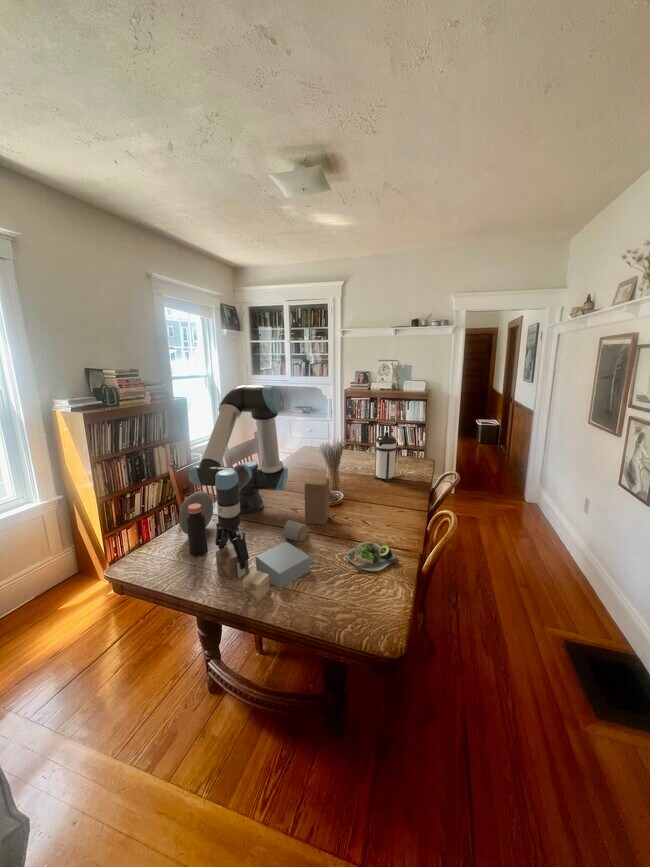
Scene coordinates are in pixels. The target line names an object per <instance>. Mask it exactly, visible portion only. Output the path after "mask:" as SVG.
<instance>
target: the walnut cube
mask: <svg viewBox="0 0 650 867" xmlns="http://www.w3.org/2000/svg"><path fill="white" fill-rule="evenodd" d="M247 551H248V549H247ZM248 552H249V551H248ZM215 559H216V560H215V561H216V571H217V572H218V573H219V574H220V575H222V576H223V577H225V579H226V578H227V579H228V580H229V581H232V580H233V579H235V578H238V572H237V560H238V558H237V555H236V552H235V549H234V547H233V544H232V543H230V544H228V545H227V546H225V547H224V548H222V549H218V550H216V551H215ZM249 568H250V567H249V559H248V560H246V561H245V572H247V571H248V570H249Z"/></svg>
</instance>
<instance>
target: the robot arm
mask: <svg viewBox="0 0 650 867" xmlns="http://www.w3.org/2000/svg"><path fill="white" fill-rule="evenodd" d="M217 409H218V412H219V413H218V415H217V418H216V421H215V424H214V427H213V429H212V431H211V434H210V436H209V440H208V442H207V444H206V447H205V449H204V453H203V456H202V457H201V458H202V459H201V460H200V463H199V464H195V465H193V466H192V467H190V469H189V471H188V477H189V478H188V479H189V482H190V483H191V484H192V485H195V486H202V487H207V486H209V487H215V491H216V506H217V514H218V515H217V519H218V522H216V523H215V524H216V533H215V534H216V535H215V543H214V544H215V546H216V547H218V550H220V549H222V548H224V547H226V546H228V545H227V544H228V541H229V542H230V544H233V547H234V549H235V552H236V555H237V558H238V560H237V572H238V576H237V578H238V579H239V578H241V577H243V576H245V575H246V571H245V561H246V560H248V561H249V559H250V555H249V551H247V550H248V546H247V541H246V533H245V532H244V531H243V532H240V530H239V526H240V524H241V514H251V513H255V512H259V511H261V509H263V507H264V500H263V499H262V495H261V494H260V490H264V491H274V492H276V491H283V490H284V489H285V487H286V486H287V482H288V475H289V469H288V467H286V466H284V463H283V461H282V460H280V453H279V452H280V451H279V443H278V435H277V425H276V418H277V417H278V413H280V412H281V409H282V400H281V394H280V391H279V390H278V389H277V388H276V386H273V385H267V384H266V385H265V384H264V385H244V384H243V385H242V384H241V385H239V386H236V387H233V389H231V390H230V391H229V392H228V393H226V395H225V396H224V397H223V399H221V402H220V403H219V406H218V408H217ZM244 412H245V413H250V414H251V418H252V419H253V420H255V424H256V430H257V431H256V432H257V439H258V444H259V446H258V447H259V452H260V453H259V454H260V458H261V463H260V464H259V463H258V462H256V461H246V462H242V463H239V464H237V465H236V466H222V462H223V459H224V458H225V457H224V456H225V454H226V452H227V448H228V446H229V443H230V440H231V438H232V434H233V430H234V428H235V425H236V423H237V422H236V421H237V419H239V418H240V417H241V415H242V413H244Z"/></svg>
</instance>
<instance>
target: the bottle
mask: <svg viewBox="0 0 650 867" xmlns="http://www.w3.org/2000/svg"><path fill="white" fill-rule="evenodd" d="M201 512H202V507H201V504H198V503H196V504H191V505H189V506H188V513H189V516H188V517H187V519H186V522H187V531H188V535H187V542H188V547H189V548H188V549H189V555H190V556H192V557H196V558H197V557H202V556H204V555H206V554H207V552H208V550H209V548H208V536H207V535H208V534H207V527H206V523H205V516H204V515H203V514H202V513H201Z"/></svg>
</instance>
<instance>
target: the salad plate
mask: <svg viewBox="0 0 650 867" xmlns="http://www.w3.org/2000/svg"><path fill="white" fill-rule="evenodd" d="M357 553H359V557H358V558H359V560H357V559H355V556H356V554H357ZM346 559H347V561H349V563H350V564H352V565H353V570H355V571H359V570H361V571H363V570H364V571H366V572H380V571H382V570H384V569H385V568H387V567H388V566H390V565H391V564H394V563H397V562H398V561H399V560H400V558H396V554H395V553H394V552H392V550H391V547H390V546H389V545H388V544H382V545H379V544H378V543H375V542H372V541H365V542H364V541H363V542H361V543H360V544H357V545H356V546H354V547H353V548H351V549H349V550H348V551H347V552H346Z"/></svg>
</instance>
